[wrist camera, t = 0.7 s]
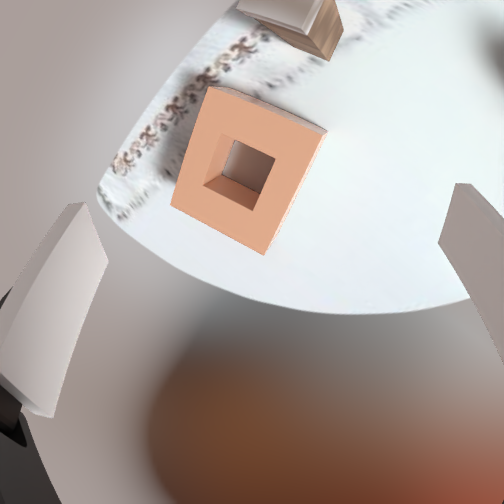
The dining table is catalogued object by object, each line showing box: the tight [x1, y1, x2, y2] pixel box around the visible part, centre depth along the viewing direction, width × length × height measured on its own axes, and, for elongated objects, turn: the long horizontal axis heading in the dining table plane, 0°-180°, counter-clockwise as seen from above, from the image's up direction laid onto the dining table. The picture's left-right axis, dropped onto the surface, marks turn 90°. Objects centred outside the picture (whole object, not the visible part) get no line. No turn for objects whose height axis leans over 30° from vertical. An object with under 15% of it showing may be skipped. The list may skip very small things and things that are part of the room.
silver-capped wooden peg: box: [236, 0, 344, 61], centre depth 20 cm, size 4×4×16 cm
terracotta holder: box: [170, 86, 328, 255], centre depth 34 cm, size 14×12×5 cm
